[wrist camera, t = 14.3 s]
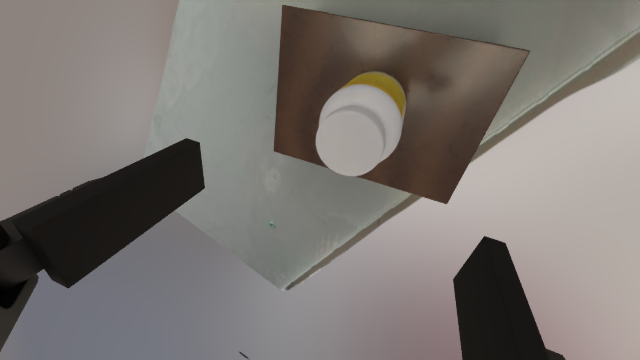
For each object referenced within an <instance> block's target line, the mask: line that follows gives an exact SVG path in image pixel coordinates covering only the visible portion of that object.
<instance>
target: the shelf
mask: <svg viewBox="0 0 640 360" xmlns="http://www.w3.org/2000/svg"><path fill="white" fill-rule="evenodd" d="M529 52H530V51H529V50H524V49H520V48H515V47H510V46H505V45H500V44H495V43H489V42H481V41H476V40H470V39H465V38H459V37H454V36H449V35H443V34H438V33H432V32H427V31H422V30H416V29H411V28H405V27H400V26H395V25H389V24H384V23H378V22H373V21H367V20H362V19H357V18H351V17H346V16H340V15H335V14H330V13H327V12H321V11H316V10H310V9H304V8H298V7H292V6H286V5H283V6H282V23H281V39H280V56H279V73H278V89H277V106H276V122H275V139H274V151H275V152H278V153H281V154H285V155H288V156H291V157H294V158H298V159H301V160H304V161H307V162H311V163H314V164H317V165H321V166H324V167H327V166H326V165H325V164H324V162H323V161H322V160H321V158H320V156H319V154H318V152H317V149H316V133H317V130H318V128H319V118H320V114H321V111H322V109H323V107H324V105H325V103H326V102H327V100H328V99H329V98H330V97H331V96H332V95H333V94H334V93H336V92H337V91H338V90H339V89H341V88H342V87H343V86H345V85H346V84H347V83H348V82H350V81H351V80H352V79H354V78H355V77H356V76H358V75H360V74H362V73H365V72H368V71H382V72H385V73H388V74H390V75H392V76H393V77H395V78H396V79H397V80H398V81H399V82H400V84H401V85H402V87H403V89H404V91H405V95H406V111H405V115H404V120H403V126H402V132H401V137H400V140H399V142H398V144H397V146H396V148H395V149H394V151H393V152H392V153H391V154H390V155H389V156H388V157H387V158H386V159H384V160H383V161H381V162H379V163H378V164H377V165H376V166H375V167H374V168H373V169H372V170H371V171H369V172H367V173H365V174H363V175H359V176H356V177H360V178H363V179H366V180H369V181H373V182H376V183H379V184H382V185H386V186H389V187H392V188H395V189H399V190H402V191H405V192H408V193H412V194H415V195H418V196H421V197H425V198H428V199H431V200H434V201H438V202H441V203H444V204H447V203H448V201H449V199H450V198H451V196H452V194H453V192H454V190H455V188H456V186H457V185H458V183H459V181H460V179H461V177H462V175H463V174H464V172H465V170H466V168H467V166H468V165H469V163H470V161H471V159H472V157H473V155H474V153H475V152H476V150H477V148H478V146H479V144H480V142H481V141H482V139H483V137H484V135H485V133H486V131H487V130H488V128H489V126H490V124H491V122H492V120H493V119H494V117H495V115H496V113H497V111H498V109H499V107H500V106H501V104H502V102H503V100H504V98H505V96H506V95H507V93H508V91H509V89H510V87H511V85H512V84H513V82H514V80H515V78H516V76H517V74H518V73H519V71H520V69H521V67H522V65H523V63H524V61H525V60H526V58H527V56H528V54H529ZM327 168H328V167H327Z"/></svg>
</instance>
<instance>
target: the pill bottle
mask: <svg viewBox="0 0 640 360" xmlns="http://www.w3.org/2000/svg"><path fill="white" fill-rule="evenodd" d="M405 111H406V95H405V91H404V89H403V87H402V85H401V84H400V82H399V81H398V80H397V79H396V78H395V77H393V76H392V75H390V74H388V73H385V72H382V71H368V72H365V73H362V74H360V75H358V76H356V77H355V78H354V79H352V80H351V81H350V82H348V83H347V84H346V85H345V86H343V87H342V88H341V89H339V90H338V91H337V92H336V93H334V94H333V95H332V96H331V97H330V98H329V99H328V100H327V102H326V103H325V105H324V107H323V109H322V111H321V114H320V118H319V128H318V130H317V133H316V149H317V152H318V154H319V156H320V158H321V160H322V161H323V162H324V164H325V165H326V166H327V167H328V168H330V169H331V170H333V171H334V172H336V173H339V174H342V175H345V176H359V175H363V174H365V173H367V172H369V171H371V170H372V169H373V168H374V167H375V166H376V165H377V164H378V163H379V162H381V161H383V160H384V159H386V158H387V157H388V156H389V155H390V154H391V153H392V152H393V151H394V149H395V148H396V146H397V144H398V142H399V140H400V137H401V132H402V126H403V120H404V115H405Z"/></svg>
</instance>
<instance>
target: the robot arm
mask: <svg viewBox="0 0 640 360" xmlns="http://www.w3.org/2000/svg"><path fill="white" fill-rule="evenodd" d="M204 188H205V186H204V177H203V168H202V159H201V151H200V143H199V142H196V141H193V140H190V139H187V138H186V139H184V140H182V141H180V142H178V143H175V144H173V145H171V146H169V147H167V148H165V149H163V150H161V151H158V152H156V153H154V154H152V155H150V156H148V157H146V158H143V159H141V160H139V161H137V162H135V163H133V164H131V165H129V166H126V167H124V168H122V169H120V170H118V171H116V172H114V173H111V174H109V175H107V176H105V177H103V178H99V179H95V180H92V181H88V182H86V183H84V184H81V185H79V186H77V187H75V188H73V190H68V191H66V192H64V193H62V194H60V196H55V197H53V198H51V199H49V200H47V201H44V202H42V203H40V204H38V205H36V206H34V207H31V208H29V209H27V210H25V211H23V212H20V213H18V214H16V215H14V216H12V217H10V218H7V219H5V220H2V221H0V351H1V349H2V348H3V346H4V344H5V342H6V340H7V338H8V336H9V334H10V333H11V331H12V329H13V327H14V325H15V323H16V322H17V320H18V318H19V316H20V314H21V312H22V310H23V308H24V307H25V305H26V303H27V301H28V299H29V297H30V296H31V294H32V292H33V290H34V288H35V286H36V284H37V282H38V278H39V277H38V275H37V273H38V272H40V271H41V270H43V269H45V271H46V272H47V273H48V275H49V276H50V278H51V279H52V280H53V281H55V282H57V283H59V284H61V285H63V286H65V287H67V288H70V287H71V286H72V285H74V284H75V283H77V282H78V281H79V280H81V279H82V278H83V277H85V276H86V275H87V274H89V273H90V272H92V271H93V270H94V269H95V268H97V267H98V266H100V265H101V264H102V263H104V262H105V261H106V260H108V259H109V258H111V257H112V256H113V255H115V254H116V253H117V252H119V251H120V250H121V249H123V248H124V247H125V246H127V245H128V244H130V243H131V242H132V241H134V240H135V239H136V238H138V237H139V236H140V235H142V234H143V233H144V232H146V231H147V230H148V229H150V228H151V227H153V226H154V225H155V224H157V223H158V222H159V221H161V220H162V219H164V218H165V217H166V216H168V215H169V214H170V213H172V212H173V211H174V210H176V209H177V208H178V207H180V206H181V205H183V204H184V203H185V202H187V201H188V200H189V199H191V198H192V197H193V196H195V195H196V194H197V193H199V192H200V191H202V190H203V189H204ZM453 282H454V291H455V299H456V307H457V316H458V325H459V332H460V341H461V350H462V358H463V360H565V358H564V357H563V355H560V354H558V353H555V352H553V351H551V350H548V349H546V348H545V346H544V343H543V340H542V338H541V335H540V333H539V330H538V327H537V325H536V322H535V319H534V317H533V314H532V311H531V309H530V306H529V304H528V301H527V298H526V296H525V293H524V290H523V288H522V285H521V283H520V280H519V278H518V275H517V272H516V270H515V267H514V264H513V262H512V259H511V256H510V254H509V251H508V249H507V246H506V244H505V243H503V242H501V241H498V240H495V239H492V238H489V237H485V236H484V237H483V239H482V240H481V241H480V243H479V244H478V246H477V247H476V248H475V250H474V251H473V253H472V254H471V255H470V257H469V258H468V259H467V261H466V262H465V264H464V265H463V266H462V268H461V269H460V271H459V272H458V273H457V275H456V276H455V277H454V279H453Z"/></svg>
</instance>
